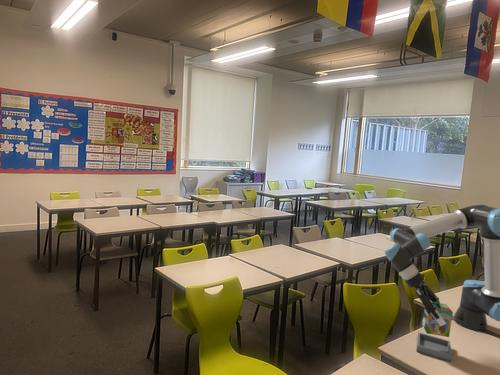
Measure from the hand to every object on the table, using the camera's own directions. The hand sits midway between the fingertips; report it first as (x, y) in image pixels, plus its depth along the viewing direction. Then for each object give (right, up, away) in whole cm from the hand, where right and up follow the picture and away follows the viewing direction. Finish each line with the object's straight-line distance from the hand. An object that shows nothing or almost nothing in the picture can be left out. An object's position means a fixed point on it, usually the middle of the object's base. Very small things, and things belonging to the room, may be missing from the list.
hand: (444, 319), depth 161 cm
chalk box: (-3, -6, +2) cm, 7 cm away
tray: (-3, -14, +3) cm, 15 cm away
